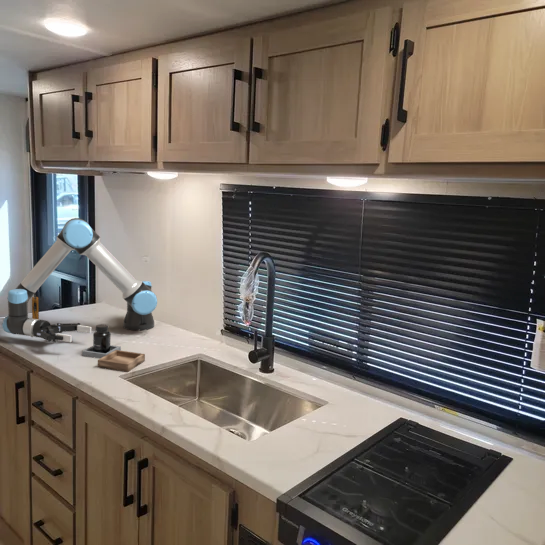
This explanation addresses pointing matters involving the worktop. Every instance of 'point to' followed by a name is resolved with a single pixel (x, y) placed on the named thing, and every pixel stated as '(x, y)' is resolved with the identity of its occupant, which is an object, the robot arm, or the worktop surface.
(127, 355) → the walnut tray
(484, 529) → the worktop surface
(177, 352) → the worktop surface
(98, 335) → the supplement bottle
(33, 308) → the multimeter
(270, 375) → the worktop surface
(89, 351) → the gray square frame
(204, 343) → the worktop surface
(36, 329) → the robot arm
